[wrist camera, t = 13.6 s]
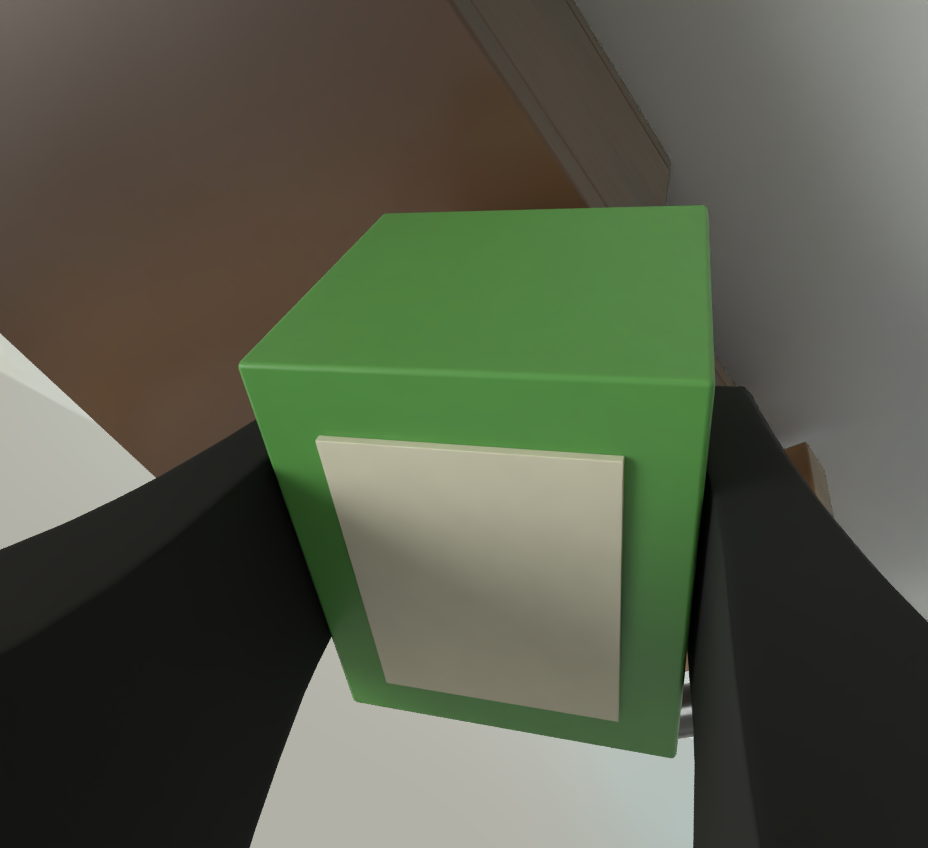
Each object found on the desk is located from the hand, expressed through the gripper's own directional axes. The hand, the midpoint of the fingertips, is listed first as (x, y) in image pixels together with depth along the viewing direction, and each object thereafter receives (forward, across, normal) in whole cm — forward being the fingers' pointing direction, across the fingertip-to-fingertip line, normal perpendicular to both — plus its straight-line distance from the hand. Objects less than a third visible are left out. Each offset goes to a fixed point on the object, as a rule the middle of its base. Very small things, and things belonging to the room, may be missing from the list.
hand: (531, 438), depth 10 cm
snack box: (+1, 0, 0) cm, 1 cm away
